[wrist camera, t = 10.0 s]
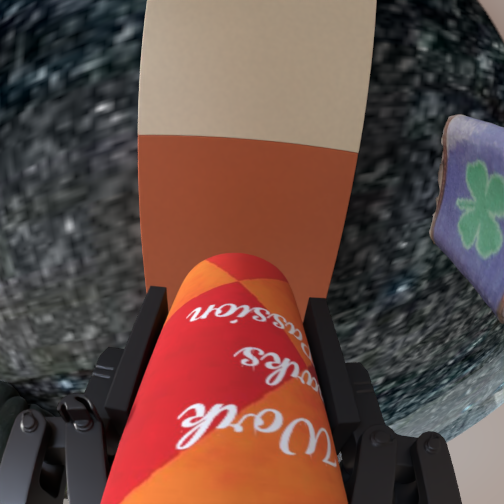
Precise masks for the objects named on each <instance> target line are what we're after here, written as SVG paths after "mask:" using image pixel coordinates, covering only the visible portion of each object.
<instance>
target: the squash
mask: <svg viewBox="0 0 504 504" xmlns="http://www.w3.org/2000/svg"><path fill="white" fill-rule="evenodd" d="M27 409H35V410H37V411H39V412H41V414H42V415H43V416H44V417H55V416H54V415H52V414H51V413H50V412H48V411H46V410H44V409H41V408H40V407H39V406H38V405H36V404H30V405H28V403H27V401H26V400H25V399H24V398H22V397H20V395H19V393H18V392H17V390H16V389H15V388H14V387H13V386H12V385H10V384H9V383H7V382H4V381H0V464H1V461H2V458H3V454H4V451H5V448H6V445H7V442H8V439H9V436H10V433H11V430H12V427H13V424H14V422H15V419H16V417H17V416H18V414H19V413H21V412H22V411H24V410H27Z"/></svg>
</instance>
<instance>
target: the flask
mask: <svg viewBox="0 0 504 504" xmlns="http://www.w3.org/2000/svg"><path fill="white" fill-rule="evenodd" d="M441 140H442V142H441V144H442V145H443V146H444V147H443V155H442V160H441V161H442V162H441V164H440V170H439V172H438V176H439V177H438V184H439V188H440V193H439V196H438V197H437V198H435V199H436V202H437V208H436V211H435V213H434V214H433V215H432V216H433V222H432V224H431V228H430V231H429V234H430V237H431V239H432V240H433V244H436V245H437V246H438V247H439V248H440V249H441V250H442V251H443V253H444V254H445V255H447V256H448V258H449V259H450V260H451V261H452V262H453V263H454V264H455V266H456V267H457V269H458V270H459V271H460V272H461V273H462V274H463V275H464V276H465V277H466V278H467V279H468V280H469V282H470V283H471V284H472V285H473V287H474V288H475V289H476V291H477V292H478V293H479V294H480V296H481V297H482V299H483V300H484V302H485V303H486V304H487V305H488V306H489V307H490V308H491V309H492V311H493V313H494V314H495V316H496V317H497V318H498V320H499V322H500V323H503V324H504V128H503V127H500V126H497V125H495V124H492V123H489V122H484V121H481V120H478V119H474V118H471V117H468V116H465V115H461V114H459V115H454V116H449V117H448V120H447V122H446V125H445V128H444V130H443V135H442V139H441Z"/></svg>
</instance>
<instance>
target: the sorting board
mask: <svg viewBox="0 0 504 504" xmlns="http://www.w3.org/2000/svg"><path fill="white" fill-rule="evenodd" d="M376 3H377V0H147V6H146V14H145V23H144V32H143V42H142V53H141V67H140V83H139V106H138V180H139V206H140V224H141V238H142V251H143V262H144V272H145V282H146V291H147V292H148V290H149V288H150V286H159V287H167V300H168V312H169V311H170V309H171V307H172V304H173V302H174V300H175V298H176V295H177V293H178V291H179V289H180V287H181V285H182V283H183V281H184V279H185V278H186V276H187V275H188V273H189V272H190V271H191V270H192V269H193V268H194V267H195V266H196V265H197V264H199V263H200V262H202V261H204V260H206V259H208V258H210V257H213V256H216V255H220V254H225V253H244V254H250V255H254V256H257V257H260V258H262V259H264V260H266V261H268V262H270V263H271V264H273V265H274V266H276V267H277V268H278V269H279V270H280V271H281V272H282V273H283V275H284V276H285V277H286V279H287V281H288V282H289V284H290V287H291V289H292V292H293V294H294V297H295V301H296V304H297V307H298V310H299V313H300V317H301V320H302V323H303V321H304V316H305V312H306V308H307V304H308V300H309V297H315V298H325V299H326V297H327V293H328V289H329V285H330V281H331V278H332V274H333V270H334V266H335V262H336V258H337V253H338V249H339V245H340V241H341V236H342V232H343V228H344V223H345V219H346V214H347V209H348V205H349V200H350V195H351V190H352V185H353V180H354V174H355V169H356V164H357V158H358V153H359V148H360V142H361V136H362V129H363V123H364V116H365V110H366V102H367V95H368V88H369V80H370V71H371V62H372V53H373V42H374V31H375V18H376Z"/></svg>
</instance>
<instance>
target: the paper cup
mask: <svg viewBox="0 0 504 504" xmlns="http://www.w3.org/2000/svg"><path fill="white" fill-rule="evenodd" d="M100 504H348V501H347V497H346V492H345V488H344V484H343V479H342V475H341V471H340V466H339V462H338V458H337V454H336V450H335V445H334V441H333V437H332V433H331V429H330V425H329V421H328V417H327V413H326V409H325V405H324V401H323V397H322V393H321V390H320V386H319V382H318V378H317V375H316V371H315V367H314V363H313V360H312V356H311V352H310V349H309V345H308V341H307V338H306V334H305V331H304V327H303V324H302V320H301V317H300V313H299V310H298V307H297V304H296V301H295V297H294V294H293V292H292V289H291V287H290V284H289V282H288V281H287V279H286V277H285V276H284V275H283V273H282V272H281V271H280V270H279V269H278V268H277V267H276V266H274V265H273V264H271V263H270V262H268V261H266V260H264V259H262V258H260V257H257V256H254V255H250V254H244V253H225V254H220V255H216V256H213V257H210V258H208V259H206V260H204V261H202V262H200V263H199V264H197V265H196V266H195V267H194V268H193V269H192V270H191V271H190V272H189V273H188V275H187V276H186V278H185V279H184V281H183V283H182V285H181V287H180V289H179V291H178V293H177V295H176V298H175V300H174V302H173V304H172V307H171V309H170V311H169V314H168V316H167V318H166V321H165V323H164V326H163V328H162V330H161V333H160V335H159V338H158V340H157V343H156V345H155V348H154V350H153V353H152V355H151V358H150V361H149V363H148V366H147V368H146V371H145V374H144V376H143V379H142V382H141V384H140V387H139V389H138V392H137V395H136V398H135V400H134V403H133V406H132V409H131V412H130V414H129V417H128V420H127V423H126V426H125V429H124V432H123V434H122V437H121V440H120V443H119V446H118V449H117V452H116V455H115V458H114V461H113V464H112V468H111V471H110V474H109V477H108V480H107V483H106V487H105V490H104V493H103V496H102V500H101V503H100Z"/></svg>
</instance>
